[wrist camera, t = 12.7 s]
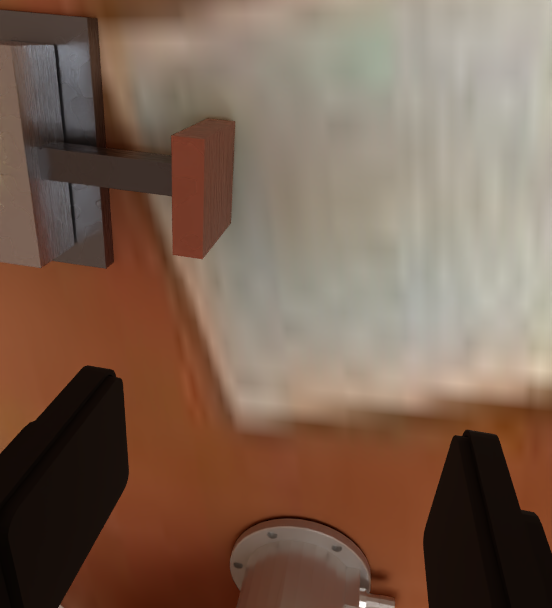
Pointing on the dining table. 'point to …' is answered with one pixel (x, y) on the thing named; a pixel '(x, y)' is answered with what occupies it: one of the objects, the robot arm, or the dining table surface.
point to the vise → (74, 118)
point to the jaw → (95, 167)
